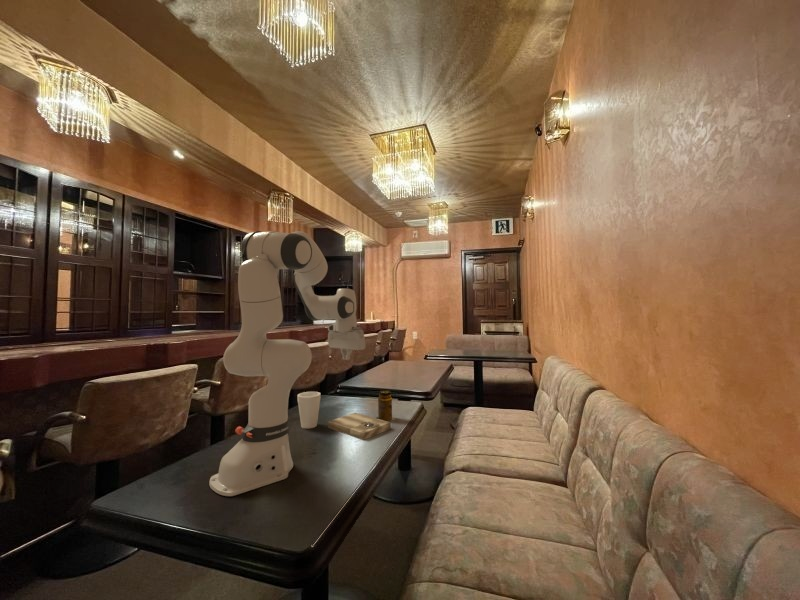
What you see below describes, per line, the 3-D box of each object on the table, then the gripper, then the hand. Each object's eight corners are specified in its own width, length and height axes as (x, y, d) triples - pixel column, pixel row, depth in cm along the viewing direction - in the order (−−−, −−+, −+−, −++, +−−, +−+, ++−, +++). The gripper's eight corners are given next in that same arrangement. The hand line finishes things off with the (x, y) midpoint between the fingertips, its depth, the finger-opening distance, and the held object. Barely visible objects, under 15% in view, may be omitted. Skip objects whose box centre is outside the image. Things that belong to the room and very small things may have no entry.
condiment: (396, 419, 144) (395, 391, 144) (381, 424, 138) (381, 395, 138) (385, 415, 149) (384, 389, 149) (370, 420, 143) (370, 392, 144)
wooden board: (363, 440, 121) (363, 433, 121) (327, 427, 134) (327, 421, 134) (390, 428, 132) (390, 422, 132) (355, 418, 146) (355, 412, 146)
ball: (364, 432, 129) (370, 433, 126) (363, 424, 129) (368, 425, 127) (371, 430, 131) (376, 430, 129) (369, 422, 131) (375, 422, 129)
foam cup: (293, 425, 137) (293, 394, 137) (313, 420, 143) (313, 390, 144) (303, 431, 130) (303, 398, 130) (324, 426, 136) (324, 394, 137)
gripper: (368, 326, 135) (368, 360, 135) (336, 326, 148) (337, 356, 148) (357, 327, 130) (357, 362, 130) (325, 326, 143) (325, 358, 143)
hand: (346, 359), depth 139 cm, fingers closed
